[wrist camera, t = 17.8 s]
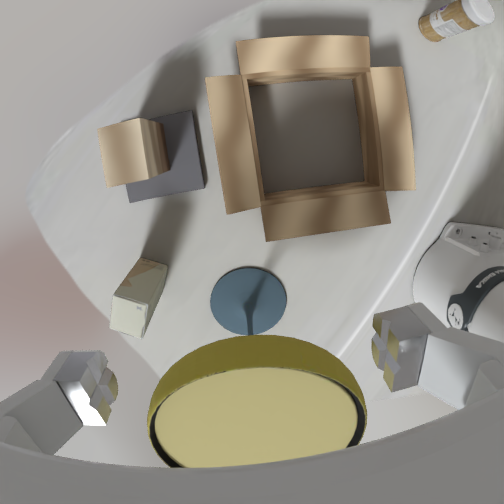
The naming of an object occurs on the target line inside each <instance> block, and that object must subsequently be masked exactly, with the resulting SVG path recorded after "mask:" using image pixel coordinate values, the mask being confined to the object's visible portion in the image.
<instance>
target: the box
mask: <svg viewBox="0 0 504 504" xmlns="http://www.w3.org/2000/svg"><path fill="white" fill-rule="evenodd" d="M167 268H168V266H167V265H164V264H161V263H158V262H154V261H151V260H148V259H144V258H139V260H138V261H137V262H136V264H135V265H134V267H133V268H132V269H131V271H130V272H129V273H128V275H127V276H126V278H125V279H124V280H123V282H122V283H121V284H120V286H119V287H118V289H117V290H116V291H115V293H114V294H113V298H112V305H111V314H110V328H111V329H113V330H116V331H119V332H121V333H124V334H127V335H130V336H133V337H136V338H139V339H142V338H143V336H144V334H145V332H146V329H147V327H148V325H149V322H150V320H151V318H152V315H153V313H154V311H155V308H156V306H157V304H158V302H159V299H160V297H161V295H162V291H163V287H164V283H165V278H166V273H167Z"/></svg>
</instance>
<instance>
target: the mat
mask: <svg viewBox="0 0 504 504" xmlns="http://www.w3.org/2000/svg"><path fill="white" fill-rule="evenodd" d="M149 120H151V121H155V122H159V123H163V125H164V132H165V139H166V146H167V152H168V159H169V165H170V171H167V172H165V173H162V174H160V175H157V176H155V177H152V178H150V179H146V180H141V181H137V182H132V183H127V184H126V188H127V193H128V197H129V202H130V203H132V202H137V201H141V200H146V199H151V198H156V197H161V196H166V195H171V194H177V193H182V192H187V191H193V190H198V189H204V188H205V185H204V179H203V173H202V168H201V162H200V156H199V150H198V144H197V138H196V131H195V125H194V119H193V112H192V110H190V111H185V112H180V113H175V114H171V115H166V116H162V117H158V118H153V119H149Z"/></svg>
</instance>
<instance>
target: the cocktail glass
mask: <svg viewBox="0 0 504 504" xmlns="http://www.w3.org/2000/svg"><path fill="white" fill-rule="evenodd" d="M210 304H211V310H212V313H213V315H214V317H215V319H216V320H217V321H218V323H219V324H220V325H222V326H223V327H224V328H225V329H227V330H229V331H231V332H233V333H236V334H241V335H248V336H238V337H233V338H228V339H224V340H219V341H216V342H213V343H210V344H208V345H205V346H202V347H200V348H198V349H196V350H194V351H193V352H191V353H189V354H187V355H185V356H184V357H183V358H181V359H180V360H179V361H178V362H176V363H175V364H174V365H172V366H171V368H170V369H169V370H168V371H167V372H166V373H165V375H164V376H163V377H162V378H161V380H160V381H159V384H158V385H157V387H156V389H155V391H154V393H153V395H152V398H151V403H150V407H149V411H148V417H147V425H148V435H149V439H150V442H151V444H152V447H153V448H154V450H155V451H156V453H157V455H158V456H159V457H160V458H161V459H162V460H163V462H164V463H165V464H167V465H168V466H169V467H170V468H201V467H224V466H238V465H249V464H258V463H267V462H274V461H282V460H288V459H294V458H300V457H306V456H311V455H317V454H322V453H326V452H331V451H335V450H340V449H344V448H348V447H352V446H356V445H359V443H360V441H361V439H362V437H363V435H364V432H365V428H366V424H367V409H366V405H365V401H364V396H363V393H362V391H361V389H360V387H359V385H358V383H357V381H356V379H355V377H354V376H353V374H352V373H351V371H350V370H349V369H348V368H347V367H346V366H345V365H344V364H343V363H342V362H341V361H340V360H339V359H338V358H337V357H335V356H334V355H332V354H331V353H329V352H328V351H327V350H325V349H323V348H320V347H318V346H316V345H314V344H312V343H310V342H306V341H303V340H299V339H296V338H291V337H284V336H277V335H254V334H259V333H262V332H265V331H267V330H269V329H270V328H272V327H273V326H274V325H275V324H276V323H278V321H279V320H280V319H281V317H282V315H283V314H284V311H285V307H286V295H285V291H284V289H283V287H282V285H281V283H280V282H279V281H278V280H277V279H276V278H275V277H274V276H273V275H271V274H270V273H268V272H266V271H263V270H260V269H256V268H242V269H238V270H234V271H232V272H230V273H228V274H226V275H225V276H223V277H222V278H221V279H220V280H219V281H218V282H217V284H216V285H215V287H214V289H213V291H212V294H211V300H210Z"/></svg>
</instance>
